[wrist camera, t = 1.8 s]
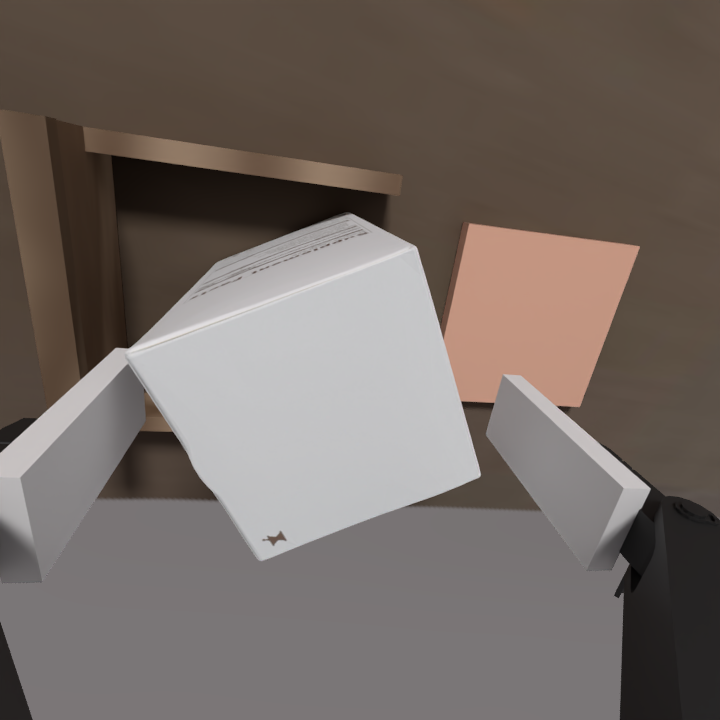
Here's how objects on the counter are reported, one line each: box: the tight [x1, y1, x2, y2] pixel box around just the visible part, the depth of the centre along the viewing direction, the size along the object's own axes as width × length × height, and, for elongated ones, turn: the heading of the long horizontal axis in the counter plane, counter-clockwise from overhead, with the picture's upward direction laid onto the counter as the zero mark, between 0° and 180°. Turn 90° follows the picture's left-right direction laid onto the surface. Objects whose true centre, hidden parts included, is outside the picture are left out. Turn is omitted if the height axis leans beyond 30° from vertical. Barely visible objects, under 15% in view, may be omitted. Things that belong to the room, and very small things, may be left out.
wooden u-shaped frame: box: [0, 109, 403, 432], centre depth 23 cm, size 16×16×7 cm
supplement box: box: [125, 212, 481, 561], centre depth 20 cm, size 9×9×15 cm
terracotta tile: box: [440, 222, 640, 407], centre depth 29 cm, size 12×12×1 cm
